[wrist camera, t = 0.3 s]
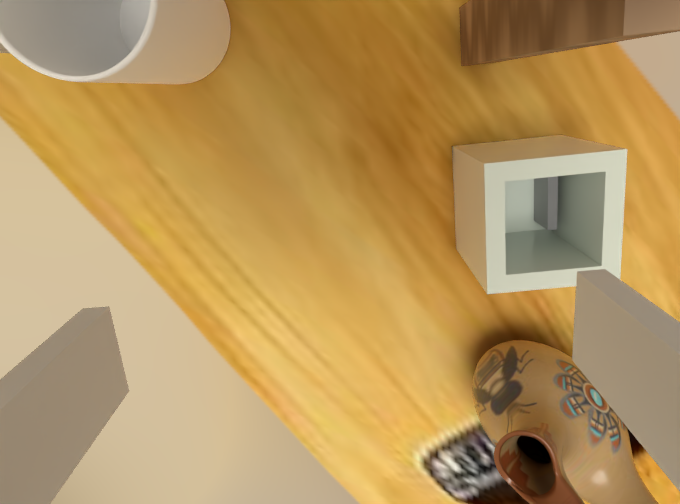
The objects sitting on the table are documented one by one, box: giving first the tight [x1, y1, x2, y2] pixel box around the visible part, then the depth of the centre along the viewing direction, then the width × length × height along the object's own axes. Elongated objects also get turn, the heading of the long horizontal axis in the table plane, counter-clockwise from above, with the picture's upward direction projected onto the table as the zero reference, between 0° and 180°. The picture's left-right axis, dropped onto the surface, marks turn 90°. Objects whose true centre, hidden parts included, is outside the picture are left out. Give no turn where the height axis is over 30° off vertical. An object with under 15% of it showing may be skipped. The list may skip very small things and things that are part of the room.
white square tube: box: [452, 135, 627, 294], centre depth 37 cm, size 8×8×10 cm
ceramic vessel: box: [472, 340, 658, 504], centre depth 35 cm, size 16×9×25 cm, turn 54°
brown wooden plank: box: [460, 0, 680, 66], centre depth 27 cm, size 4×2×24 cm, turn 6°
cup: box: [0, 0, 231, 84], centre depth 31 cm, size 8×8×16 cm
